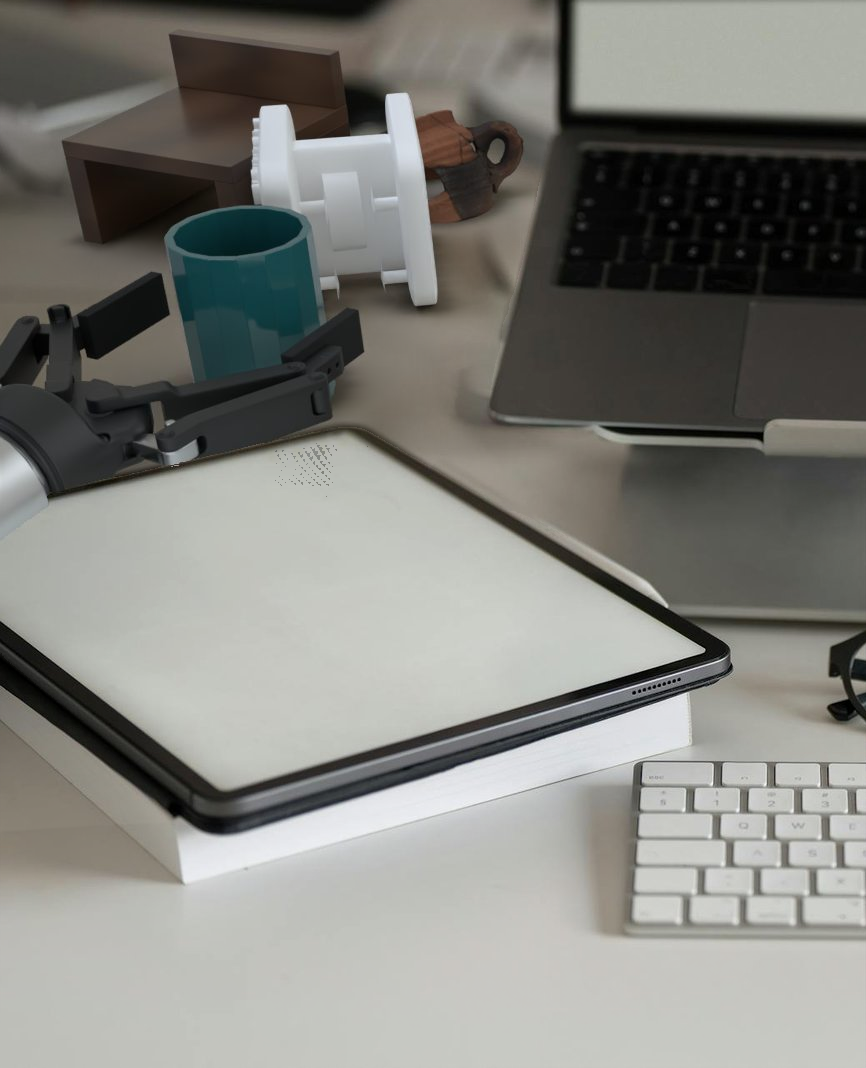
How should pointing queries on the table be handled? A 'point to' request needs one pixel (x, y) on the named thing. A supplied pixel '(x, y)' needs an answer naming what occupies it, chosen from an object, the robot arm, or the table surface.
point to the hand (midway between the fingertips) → (256, 310)
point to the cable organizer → (353, 196)
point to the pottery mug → (464, 163)
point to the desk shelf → (200, 129)
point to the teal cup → (244, 287)
